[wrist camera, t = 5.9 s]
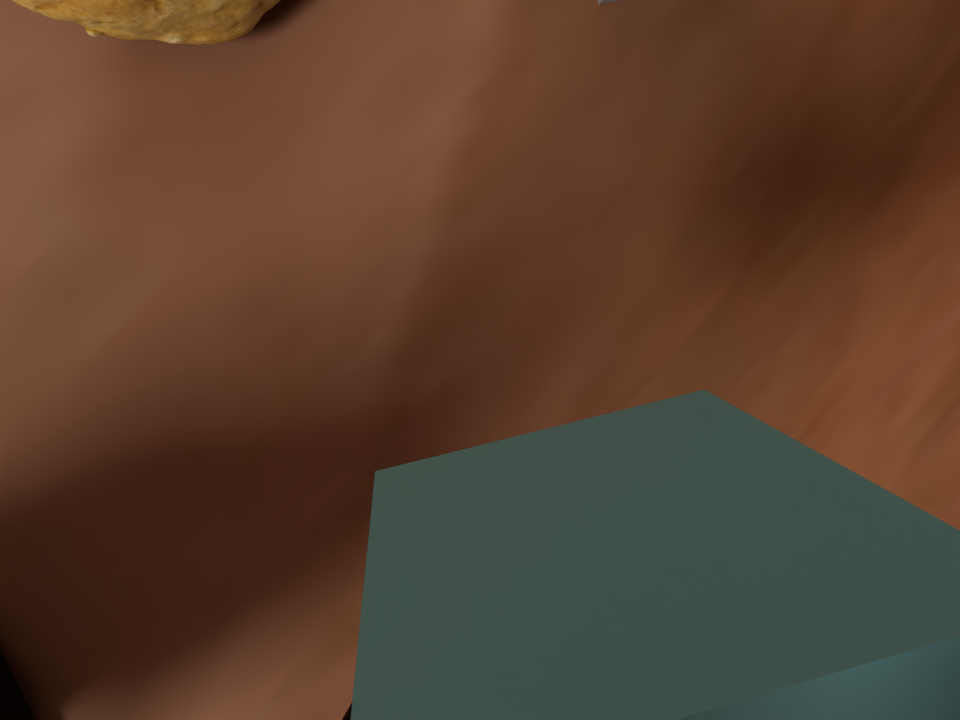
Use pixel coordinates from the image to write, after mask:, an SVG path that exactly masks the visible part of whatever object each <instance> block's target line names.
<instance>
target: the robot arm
mask: <svg viewBox="0 0 960 720" xmlns="http://www.w3.org/2000/svg"><path fill="white" fill-rule="evenodd" d="M351 711H352V703H351V705H350V707H349V708H348V710H347V712H346V714H345V715H344V717H343V719H342V720H351ZM0 720H34V718H33V716H32V714H31V712H30V710H29V708H28V706H27V704H26V702H25V700H24V698H23V696H22V694H21V692H20V690H19V688H18V686H17V684H16V682H15V680H14V678H13V676H12V674H11V672H10V670H9V668H8V666H7V664H6V662H5V660H4V658H3V656H2V654H1V652H0Z"/></svg>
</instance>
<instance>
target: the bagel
mask: <svg viewBox="0 0 960 720" xmlns="http://www.w3.org/2000/svg"><path fill="white" fill-rule="evenodd" d="M12 1H14V2H15V3H17V4H18V5H20V6H22V7H25V8H28V9H30V10H32V11H35V12H37V13H40V14H42V15H44V16H46V17H50V18H52V19H56V20H61V21H70V22H76V23H78V24H80V25H82V26H84V27H85V31H86V32H87V33H88V34H89V35H91V36H94V37H97V36H101V35H107V36H112V37H114V38H120V39H123V40H137V39H144V40H149V39H151V40H159V41H163V42H167V43H171V44H181V43H185V44H199V45H202V44H216V43H220V42H229V41H232V40H235V39H237V38H240V37H243V36H244V35H245V34H247V33H249V32H250V31H251V30H252V29H253V27H254V26H255V25H256V23H257V22H258V21H259V20H260V19H261V17H262V15H263V14H264V13H265V12H266V11H268V10H269V9H271V8H273V7H274V6H275V5H276V4H277V3H278V2H279V1H280V0H12Z"/></svg>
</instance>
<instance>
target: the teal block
mask: <svg viewBox="0 0 960 720" xmlns="http://www.w3.org/2000/svg"><path fill="white" fill-rule="evenodd" d="M351 720H960V530H958V529H956V528H954V527H952V526H951V525H949V524H947V523H945V522H943V521H942V520H940V519H938V518H936V517H934V516H933V515H931V514H929V513H927V512H925V511H923V510H922V509H920V508H918V507H916V506H914V505H913V504H911V503H909V502H907V501H905V500H903V499H902V498H900V497H898V496H896V495H894V494H893V493H891V492H889V491H887V490H885V489H884V488H882V487H880V486H878V485H876V484H874V483H873V482H871V481H869V480H867V479H865V478H864V477H862V476H860V475H858V474H856V473H854V472H853V471H851V470H849V469H847V468H845V467H844V466H842V465H840V464H838V463H836V462H835V461H833V460H831V459H829V458H827V457H825V456H824V455H822V454H820V453H818V452H816V451H815V450H813V449H811V448H809V447H807V446H806V445H804V444H802V443H800V442H798V441H796V440H795V439H793V438H791V437H789V436H787V435H786V434H784V433H782V432H780V431H778V430H776V429H775V428H773V427H771V426H769V425H767V424H766V423H764V422H762V421H760V420H758V419H757V418H755V417H753V416H751V415H749V414H747V413H746V412H744V411H742V410H740V409H738V408H737V407H735V406H733V405H731V404H729V403H727V402H726V401H724V400H722V399H720V398H718V397H717V396H715V395H713V394H711V393H709V392H708V391H706V390H701V391H697V392H693V393H689V394H685V395H681V396H677V397H673V398H669V399H665V400H661V401H657V402H653V403H649V404H645V405H641V406H637V407H633V408H629V409H624V410H620V411H616V412H612V413H608V414H604V415H600V416H596V417H592V418H588V419H584V420H580V421H576V422H572V423H568V424H564V425H560V426H556V427H552V428H548V429H544V430H540V431H536V432H532V433H527V434H523V435H519V436H515V437H511V438H507V439H503V440H499V441H495V442H491V443H487V444H483V445H479V446H475V447H471V448H467V449H463V450H459V451H455V452H451V453H447V454H443V455H439V456H435V457H431V458H426V459H422V460H418V461H414V462H410V463H406V464H402V465H398V466H394V467H390V468H386V469H382V470H378V471H375V477H374V487H373V498H372V508H371V518H370V528H369V538H368V548H367V558H366V569H365V579H364V589H363V599H362V609H361V619H360V630H359V640H358V650H357V660H356V670H355V680H354V690H353V701H352V711H351Z"/></svg>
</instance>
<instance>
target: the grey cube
mask: <svg viewBox="0 0 960 720" xmlns="http://www.w3.org/2000/svg"><path fill="white" fill-rule="evenodd" d="M614 1H619V0H598V3H599V4H604V3H609V2H614Z"/></svg>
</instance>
